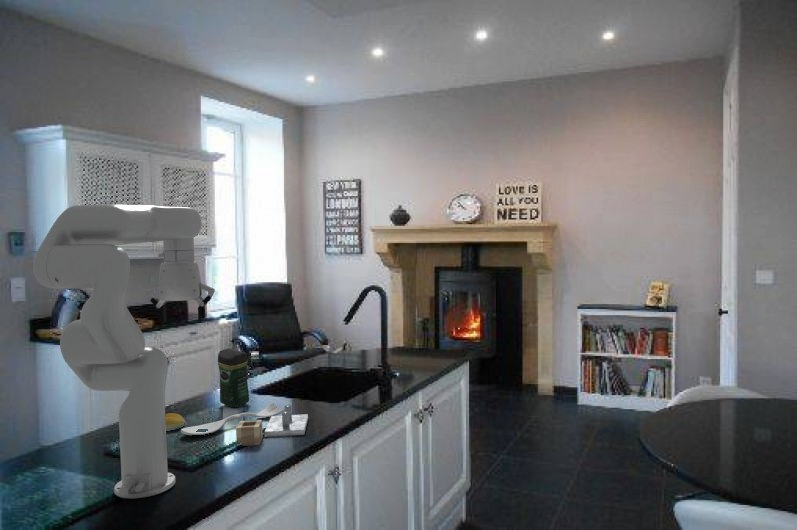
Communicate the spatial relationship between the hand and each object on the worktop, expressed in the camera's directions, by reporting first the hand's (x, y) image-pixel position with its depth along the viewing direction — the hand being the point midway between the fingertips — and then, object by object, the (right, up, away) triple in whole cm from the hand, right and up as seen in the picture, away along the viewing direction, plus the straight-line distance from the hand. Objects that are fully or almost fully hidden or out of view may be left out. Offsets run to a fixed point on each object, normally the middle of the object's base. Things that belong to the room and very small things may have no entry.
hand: (182, 321), depth 155 cm
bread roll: (-11, -34, +20) cm, 41 cm away
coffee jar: (+2, -32, +43) cm, 54 cm away
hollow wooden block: (+17, -33, +5) cm, 38 cm away
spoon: (+8, -34, +20) cm, 40 cm away
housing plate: (+25, -33, +17) cm, 44 cm away
